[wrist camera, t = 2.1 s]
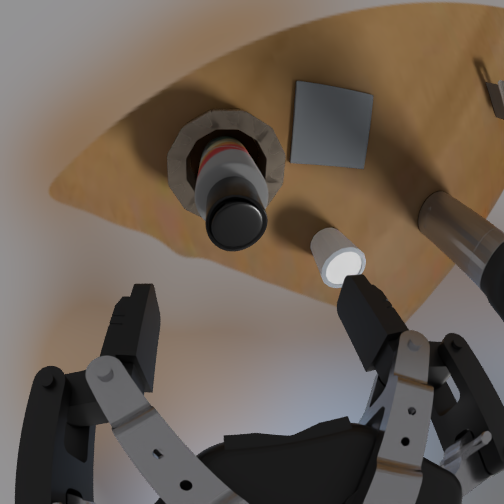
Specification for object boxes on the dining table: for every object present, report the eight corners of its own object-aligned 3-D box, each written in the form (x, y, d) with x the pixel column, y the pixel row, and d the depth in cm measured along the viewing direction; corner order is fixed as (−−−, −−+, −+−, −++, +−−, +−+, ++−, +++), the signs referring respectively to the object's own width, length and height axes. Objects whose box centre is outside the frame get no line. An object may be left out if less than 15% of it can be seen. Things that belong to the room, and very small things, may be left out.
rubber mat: (371, 95, 30) (373, 95, 30) (361, 168, 36) (363, 169, 36) (296, 81, 29) (297, 80, 28) (289, 162, 34) (290, 163, 34)
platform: (488, 50, 24) (512, 53, 19) (510, 124, 33) (531, 132, 27) (463, 66, 27) (490, 70, 22) (489, 147, 36) (511, 157, 30)
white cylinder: (309, 266, 44) (324, 294, 38) (303, 231, 40) (318, 256, 34) (348, 254, 44) (366, 279, 38) (344, 218, 40) (365, 241, 34)
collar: (276, 110, 31) (288, 113, 26) (269, 202, 37) (279, 220, 32) (174, 110, 29) (166, 112, 24) (177, 203, 35) (171, 223, 30)
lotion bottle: (221, 126, 31) (231, 161, 14) (255, 153, 33) (303, 220, 17) (192, 160, 33) (170, 236, 16) (227, 186, 35) (242, 281, 18)
